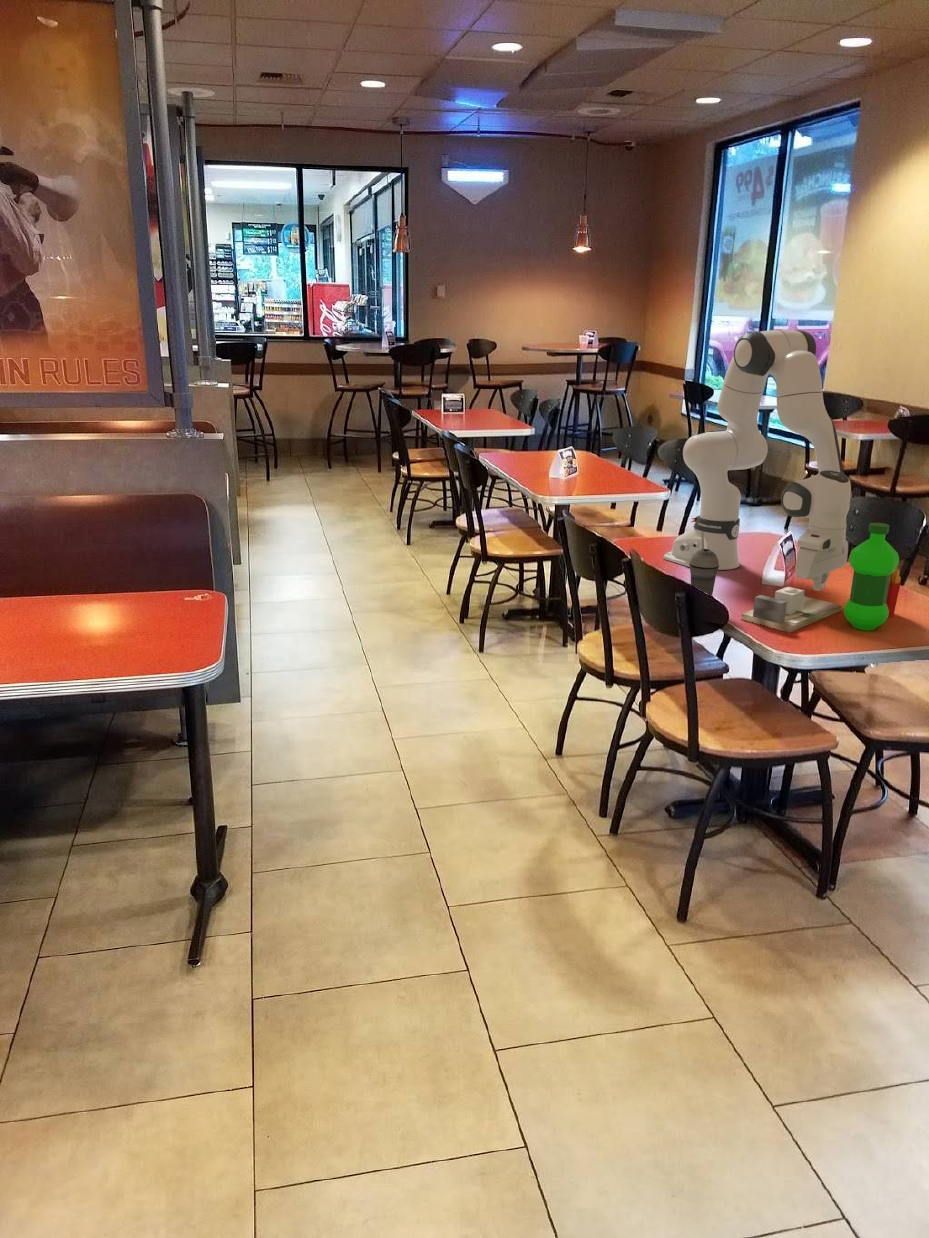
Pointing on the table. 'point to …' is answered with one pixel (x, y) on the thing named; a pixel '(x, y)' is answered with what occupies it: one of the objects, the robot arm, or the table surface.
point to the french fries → (893, 592)
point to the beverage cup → (704, 569)
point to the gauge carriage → (791, 599)
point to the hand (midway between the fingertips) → (818, 589)
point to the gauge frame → (775, 617)
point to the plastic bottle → (871, 579)
